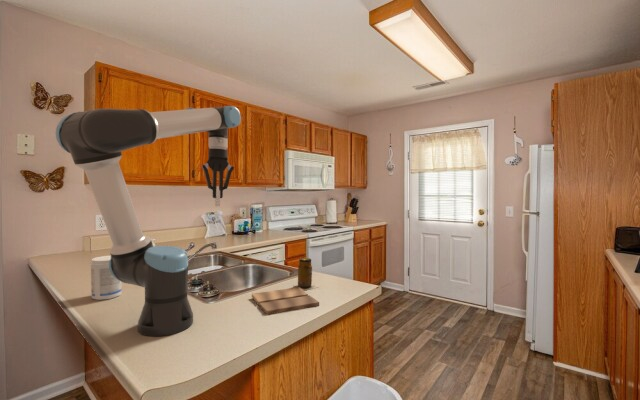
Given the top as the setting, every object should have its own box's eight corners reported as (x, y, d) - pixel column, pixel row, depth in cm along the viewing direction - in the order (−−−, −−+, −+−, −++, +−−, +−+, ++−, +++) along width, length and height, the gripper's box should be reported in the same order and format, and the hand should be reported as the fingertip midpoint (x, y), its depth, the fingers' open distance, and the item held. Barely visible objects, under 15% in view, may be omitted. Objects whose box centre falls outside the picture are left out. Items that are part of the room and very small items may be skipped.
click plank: (258, 305, 114) (258, 301, 114) (251, 296, 121) (252, 293, 121) (308, 297, 123) (308, 294, 123) (299, 289, 131) (299, 287, 130)
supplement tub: (126, 292, 125) (126, 255, 124) (111, 300, 115) (111, 260, 114) (101, 292, 124) (101, 254, 124) (84, 300, 115) (84, 260, 114)
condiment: (306, 282, 142) (307, 256, 142) (318, 287, 136) (318, 260, 136) (293, 285, 138) (293, 258, 137) (304, 290, 131) (305, 262, 131)
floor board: (266, 314, 106) (266, 311, 106) (258, 305, 113) (258, 302, 113) (319, 305, 115) (319, 302, 115) (308, 297, 123) (308, 294, 123)
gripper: (202, 146, 123) (202, 206, 124) (236, 149, 130) (235, 206, 130) (200, 148, 130) (199, 205, 131) (232, 151, 136) (231, 205, 137)
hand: (217, 206), depth 131 cm, fingers closed
